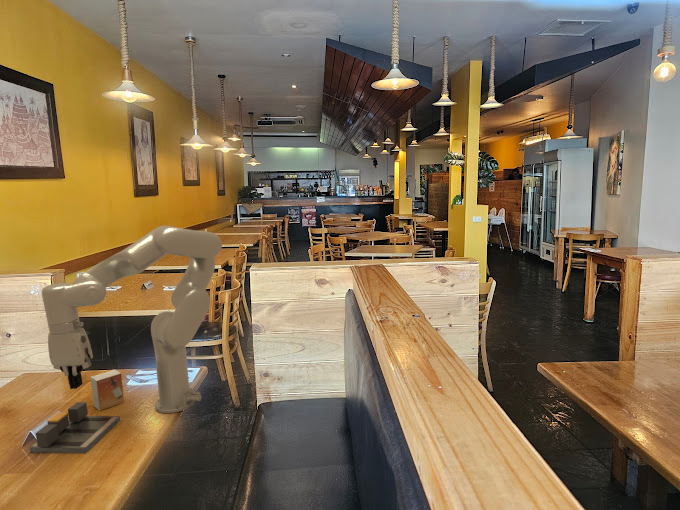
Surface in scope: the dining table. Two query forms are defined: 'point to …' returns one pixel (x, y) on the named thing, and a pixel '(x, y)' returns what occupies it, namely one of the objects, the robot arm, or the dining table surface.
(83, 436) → the panel
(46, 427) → the block
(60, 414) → the block
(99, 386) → the small box
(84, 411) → the breaker
